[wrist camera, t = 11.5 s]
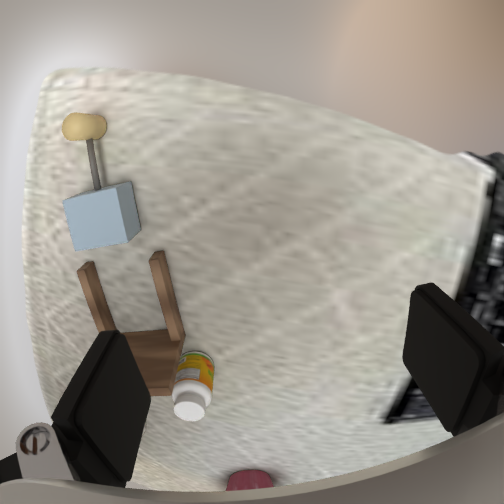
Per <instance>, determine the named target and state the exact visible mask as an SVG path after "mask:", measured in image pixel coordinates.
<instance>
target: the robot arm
mask: <svg viewBox="0 0 504 504" xmlns="http://www.w3.org/2000/svg"><path fill="white" fill-rule="evenodd" d="M503 354H504V346H503V345H502V344H501V343H500V342H498V341H497V340H496V339H495V338H494V337H493V336H492V335H491V334H490V333H489V332H488V331H487V330H486V329H485V328H484V327H483V326H482V325H481V324H479V323H478V322H477V321H476V320H475V319H474V318H473V317H472V316H471V315H470V314H469V313H467V312H466V311H465V310H464V309H463V308H462V307H461V306H460V305H458V304H457V303H456V302H455V301H454V300H453V299H452V298H450V297H449V296H448V295H447V294H446V293H445V292H443V291H442V290H441V289H440V288H439V287H438V286H436V285H435V284H434V283H427V284H422V285H418V286H416V288H415V291H413V292H412V293H411V298H410V307H409V315H408V323H407V330H406V337H405V343H404V349H403V362H404V365H405V366H406V368H407V369H408V371H409V372H410V374H411V376H412V377H413V379H414V380H415V382H416V383H417V385H418V386H419V388H420V390H421V391H422V393H423V394H424V396H425V397H426V399H427V401H428V402H429V404H430V406H431V407H432V409H433V410H434V412H435V414H436V415H437V417H438V419H439V420H440V422H441V424H442V425H443V427H444V429H445V430H446V431H447V432H451V433H452V435H453V437H452V438H450V439H448V440H446V441H443V442H441V443H439V444H436V445H434V446H431V447H429V448H426V449H424V450H421V451H419V452H416V453H413V454H411V455H408V456H405V457H402V458H399V459H396V460H393V461H390V462H387V463H384V464H380V465H377V466H374V467H370V468H367V469H363V470H359V471H356V472H352V473H348V474H344V475H339V476H335V477H330V478H326V479H321V480H316V481H310V482H305V483H299V484H293V485H286V486H278V487H270V488H261V489H251V490H237V491H217V492H175V491H156V490H143V489H132V488H125V486H126V482H127V481H130V480H131V478H132V474H133V470H134V465H135V461H136V457H137V453H138V449H139V445H140V441H141V437H142V435H143V434H144V432H145V429H146V423H145V422H146V418H147V414H148V410H149V407H150V403H151V396H150V392H149V390H148V388H147V386H146V384H145V381H144V379H143V377H142V375H141V373H140V370H139V368H138V366H137V363H136V361H135V359H134V356H133V354H132V351H131V349H130V346H129V344H128V341H127V339H126V337H125V335H124V334H121V333H120V332H119V331H118V330H106V331H101V332H100V333H99V334H98V336H97V338H96V339H95V341H94V342H93V344H92V346H91V347H90V349H89V351H88V352H87V354H86V356H85V357H84V359H83V361H82V362H81V364H80V366H79V367H78V369H77V371H76V373H75V374H74V376H73V378H72V380H71V381H70V383H69V385H68V387H67V388H66V390H65V392H64V394H63V396H62V397H61V399H60V401H59V403H58V405H57V407H56V409H55V410H54V412H53V414H52V416H51V418H52V420H53V421H54V422H53V424H52V426H50V425H48V424H46V423H35V424H31V425H29V426H28V427H26V428H25V429H24V430H23V431H22V432H21V433H20V434H19V436H18V438H17V441H16V451H17V452H16V453H14V454H12V455H10V456H8V457H6V458H4V459H2V460H0V504H504V355H503Z"/></svg>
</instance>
